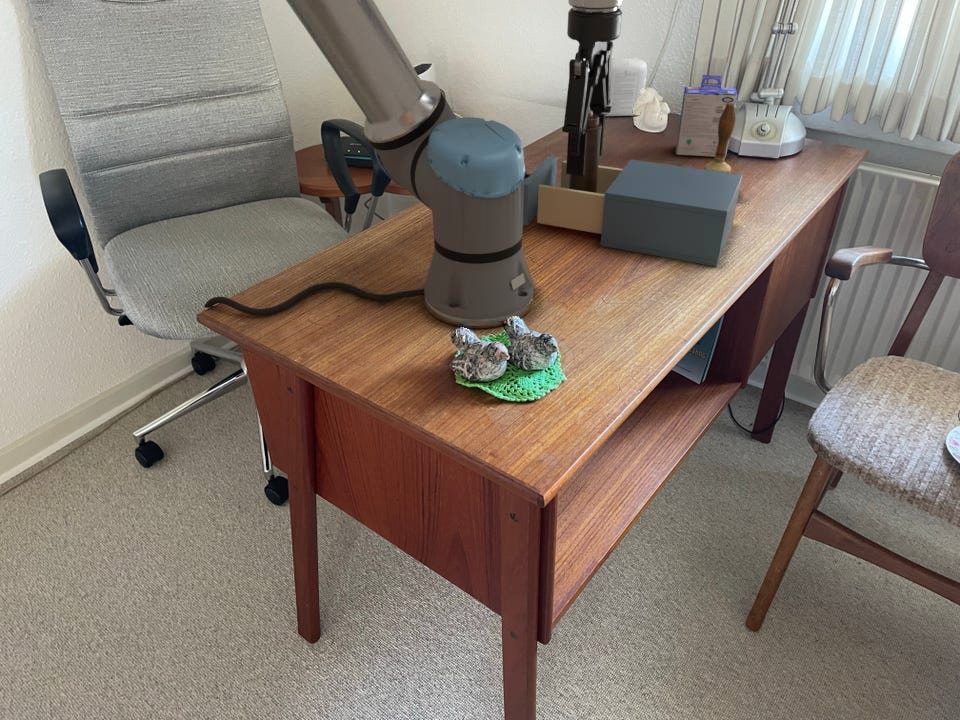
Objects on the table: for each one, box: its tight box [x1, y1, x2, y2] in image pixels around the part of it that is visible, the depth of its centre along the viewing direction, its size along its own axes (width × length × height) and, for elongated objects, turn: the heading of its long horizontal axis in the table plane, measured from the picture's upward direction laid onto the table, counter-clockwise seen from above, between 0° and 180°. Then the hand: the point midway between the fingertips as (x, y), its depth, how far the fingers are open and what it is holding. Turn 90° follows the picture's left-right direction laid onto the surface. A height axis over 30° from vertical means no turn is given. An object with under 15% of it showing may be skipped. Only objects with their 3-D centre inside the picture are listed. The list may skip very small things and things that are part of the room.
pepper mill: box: [569, 108, 602, 193], centre depth 115 cm, size 4×4×16 cm
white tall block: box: [603, 56, 647, 117], centre depth 163 cm, size 10×4×12 cm, turn 93°
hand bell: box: [703, 103, 737, 173], centre depth 124 cm, size 8×8×16 cm
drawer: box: [523, 155, 624, 235], centre depth 119 cm, size 21×14×7 cm, turn 66°
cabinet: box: [599, 159, 743, 267], centre depth 113 cm, size 18×15×9 cm
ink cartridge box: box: [675, 74, 738, 158], centre depth 142 cm, size 10×6×14 cm, turn 78°
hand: (584, 163), depth 115 cm, fingers open, 9 cm apart
